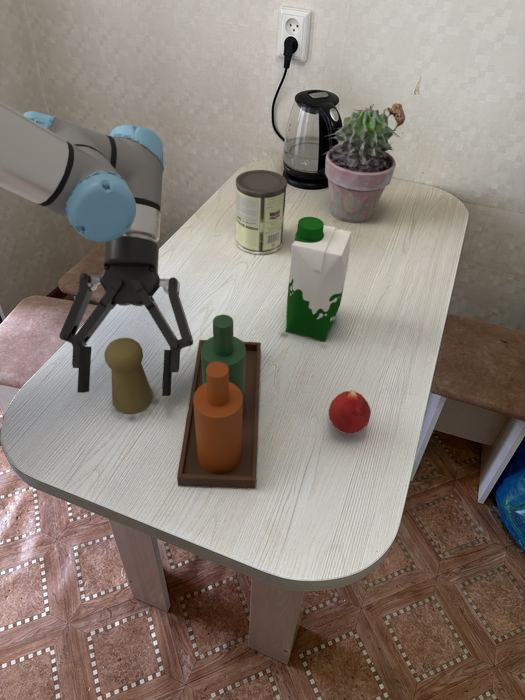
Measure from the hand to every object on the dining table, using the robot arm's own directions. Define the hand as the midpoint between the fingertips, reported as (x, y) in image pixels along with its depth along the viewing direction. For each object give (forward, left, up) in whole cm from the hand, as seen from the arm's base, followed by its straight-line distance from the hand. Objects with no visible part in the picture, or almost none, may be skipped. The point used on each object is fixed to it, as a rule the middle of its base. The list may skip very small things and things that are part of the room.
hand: (124, 394), depth 72 cm
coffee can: (+18, +49, -4) cm, 52 cm away
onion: (+32, -1, -4) cm, 32 cm away
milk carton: (+28, +22, -4) cm, 36 cm away
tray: (+14, +1, -4) cm, 15 cm away
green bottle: (+14, +1, -4) cm, 15 cm away
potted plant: (+39, +64, -4) cm, 75 cm away
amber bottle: (+14, -7, -4) cm, 16 cm away
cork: (0, +3, -4) cm, 5 cm away
